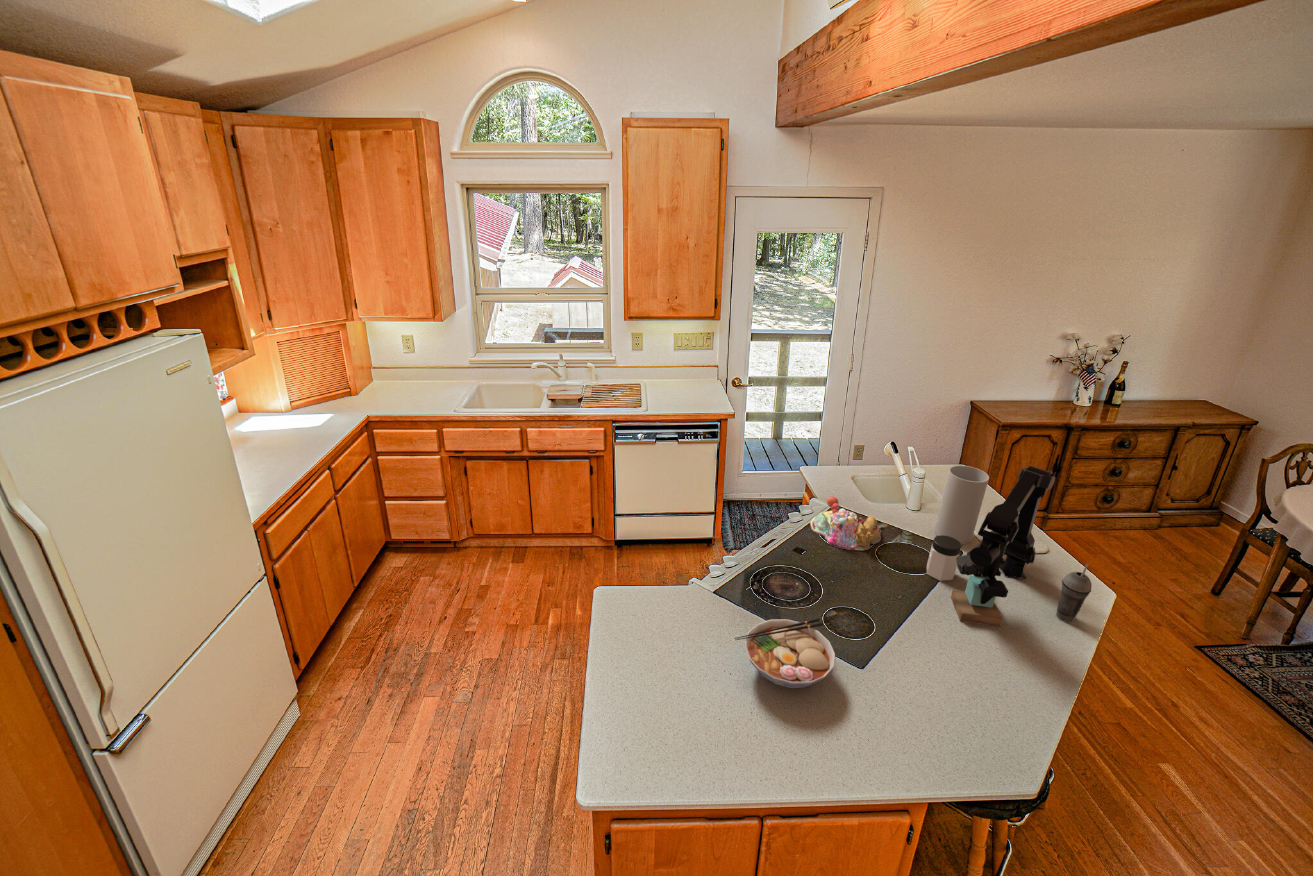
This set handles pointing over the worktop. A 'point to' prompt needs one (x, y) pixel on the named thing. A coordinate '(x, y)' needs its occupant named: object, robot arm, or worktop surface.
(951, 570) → the jar
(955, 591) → the walnut base
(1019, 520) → the robot arm
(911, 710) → the worktop surface
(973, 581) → the teal block
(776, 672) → the ramen bowl
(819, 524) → the pastel sphere sculpture
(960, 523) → the cylinder vase
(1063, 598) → the beverage cup
